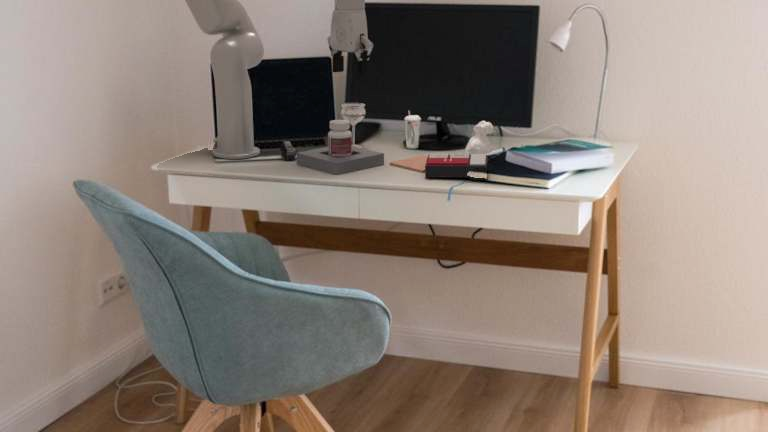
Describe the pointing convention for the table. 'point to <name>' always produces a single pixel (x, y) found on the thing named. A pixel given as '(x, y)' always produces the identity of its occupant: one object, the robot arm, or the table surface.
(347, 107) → the wineglass
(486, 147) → the bust
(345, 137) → the pill bottle
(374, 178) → the table surface
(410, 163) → the tile
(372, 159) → the block
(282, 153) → the wristwatch
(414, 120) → the milkshake
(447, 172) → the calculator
